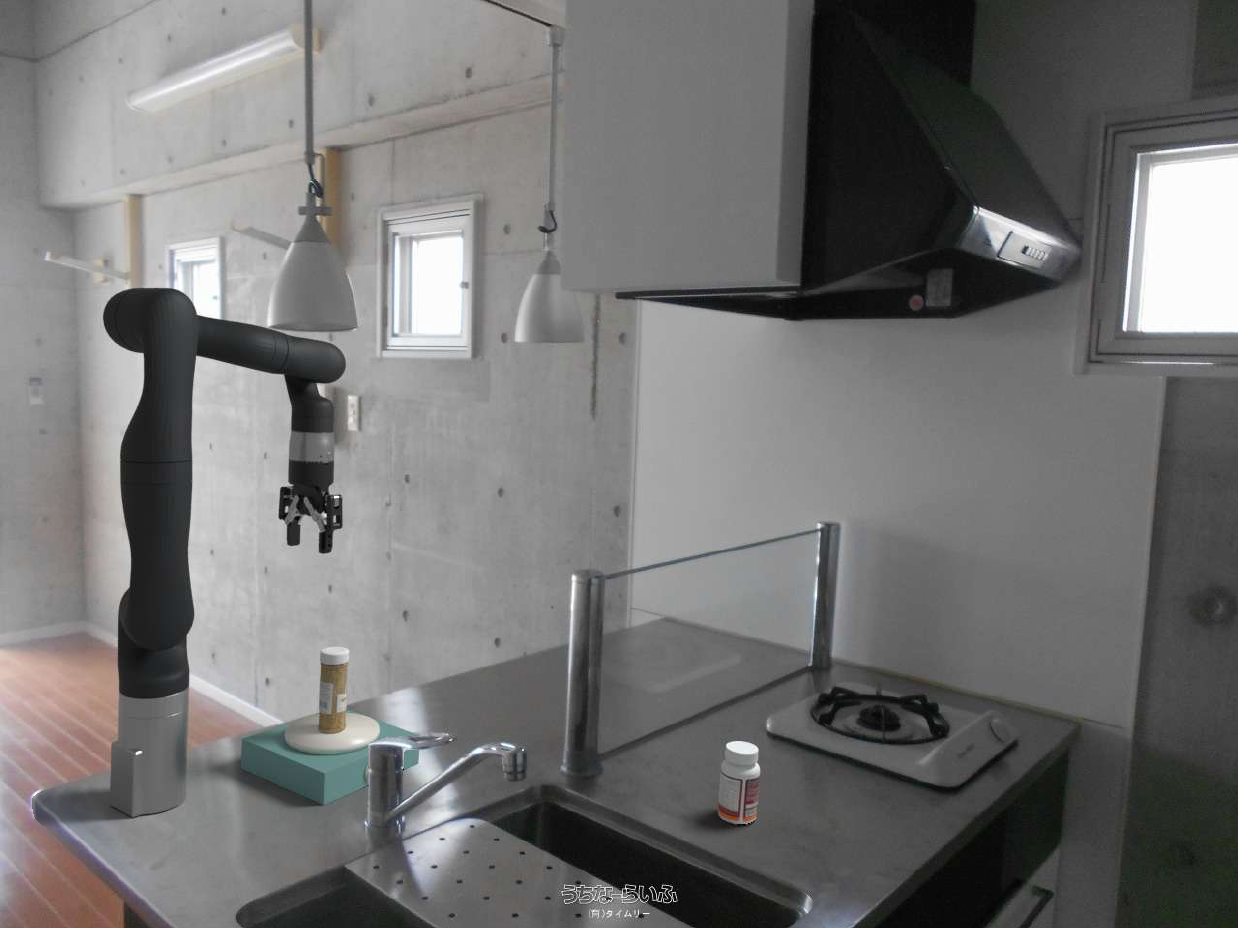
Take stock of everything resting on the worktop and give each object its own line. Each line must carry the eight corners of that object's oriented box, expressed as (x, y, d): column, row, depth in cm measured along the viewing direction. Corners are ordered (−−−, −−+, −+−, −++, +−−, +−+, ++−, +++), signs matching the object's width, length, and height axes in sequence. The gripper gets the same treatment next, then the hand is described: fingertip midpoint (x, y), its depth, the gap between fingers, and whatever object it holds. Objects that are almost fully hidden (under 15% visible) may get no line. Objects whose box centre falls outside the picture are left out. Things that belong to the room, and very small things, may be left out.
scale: (326, 806, 136) (327, 774, 136) (240, 768, 147) (241, 738, 147) (420, 764, 153) (422, 735, 153) (338, 732, 164) (339, 706, 164)
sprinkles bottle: (349, 731, 149) (352, 652, 148) (321, 735, 147) (324, 655, 146) (341, 721, 153) (344, 644, 152) (314, 725, 151) (317, 647, 149)
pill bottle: (753, 808, 145) (759, 740, 144) (759, 827, 139) (765, 756, 138) (715, 806, 145) (720, 738, 144) (719, 824, 139) (724, 753, 138)
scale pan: (327, 762, 140) (327, 755, 140) (264, 737, 147) (265, 730, 147) (398, 734, 152) (398, 727, 152) (337, 712, 160) (338, 706, 160)
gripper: (267, 454, 158) (265, 545, 159) (320, 462, 150) (317, 558, 152) (303, 452, 164) (300, 540, 166) (356, 460, 156) (353, 552, 158)
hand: (309, 549), depth 159 cm, fingers open, 8 cm apart
